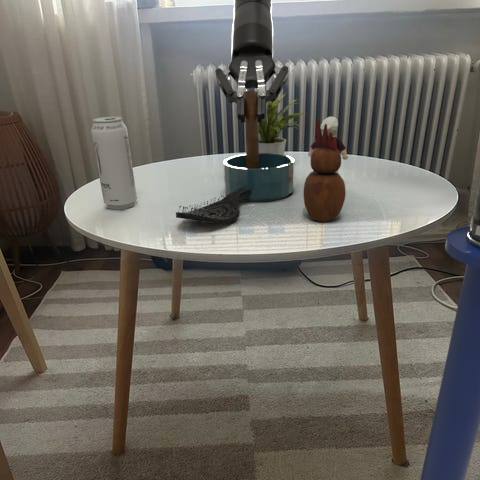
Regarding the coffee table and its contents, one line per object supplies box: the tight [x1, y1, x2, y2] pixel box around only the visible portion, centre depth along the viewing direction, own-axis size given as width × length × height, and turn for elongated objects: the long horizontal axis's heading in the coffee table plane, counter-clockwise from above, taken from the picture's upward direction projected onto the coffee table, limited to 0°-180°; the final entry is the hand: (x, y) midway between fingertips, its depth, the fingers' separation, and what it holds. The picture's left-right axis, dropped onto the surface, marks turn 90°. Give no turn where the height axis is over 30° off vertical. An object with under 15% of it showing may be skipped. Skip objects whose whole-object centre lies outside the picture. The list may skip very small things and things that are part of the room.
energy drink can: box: [90, 116, 138, 211], centre depth 87 cm, size 6×6×15 cm
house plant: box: [258, 91, 307, 155], centre depth 106 cm, size 14×14×16 cm
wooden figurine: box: [302, 119, 346, 222], centre depth 77 cm, size 7×6×15 cm
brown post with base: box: [244, 90, 260, 169], centre depth 90 cm, size 5×5×16 cm
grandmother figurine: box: [307, 115, 349, 174], centre depth 95 cm, size 8×4×13 cm, turn 80°
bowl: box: [222, 153, 295, 203], centre depth 94 cm, size 13×13×6 cm
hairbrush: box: [175, 188, 251, 226], centre depth 85 cm, size 8×4×25 cm
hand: (251, 119), depth 86 cm, fingers closed on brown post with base, 2 cm apart
